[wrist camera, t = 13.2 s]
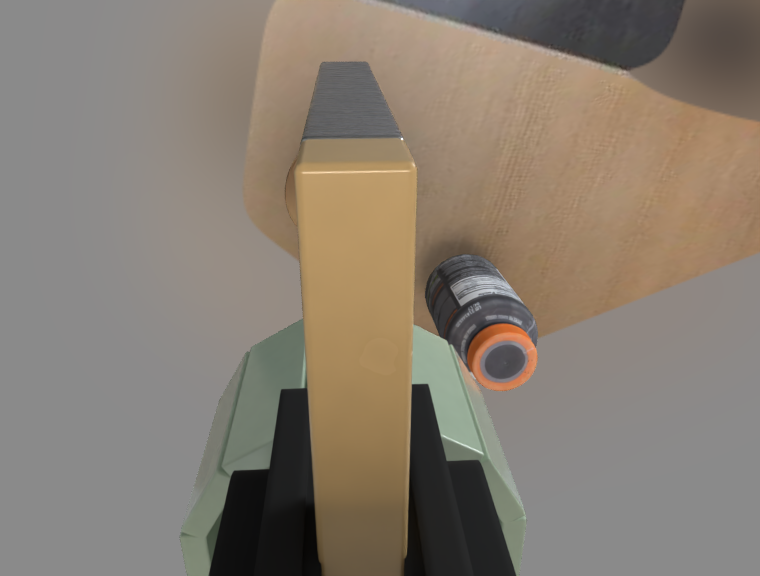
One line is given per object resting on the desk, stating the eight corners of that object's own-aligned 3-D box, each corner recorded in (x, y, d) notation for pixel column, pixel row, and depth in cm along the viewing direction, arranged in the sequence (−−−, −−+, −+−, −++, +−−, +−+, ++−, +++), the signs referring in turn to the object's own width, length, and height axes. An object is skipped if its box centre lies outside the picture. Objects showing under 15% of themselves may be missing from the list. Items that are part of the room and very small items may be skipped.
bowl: (471, 515, 21) (509, 658, 16) (235, 527, 20) (205, 677, 16) (489, 307, 17) (542, 414, 13) (205, 315, 17) (157, 430, 12)
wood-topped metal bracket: (409, 500, 18) (464, 879, 10) (299, 505, 18) (271, 896, 10) (422, 61, 13) (553, 160, 5) (265, 61, 12) (149, 166, 5)
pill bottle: (468, 336, 48) (510, 422, 37) (408, 299, 46) (435, 378, 36) (516, 278, 46) (574, 351, 36) (456, 237, 44) (499, 301, 34)
